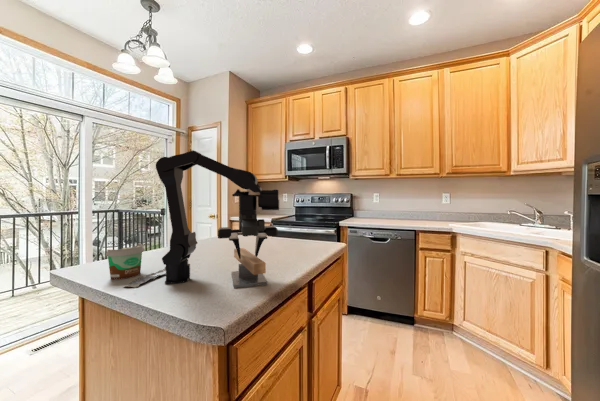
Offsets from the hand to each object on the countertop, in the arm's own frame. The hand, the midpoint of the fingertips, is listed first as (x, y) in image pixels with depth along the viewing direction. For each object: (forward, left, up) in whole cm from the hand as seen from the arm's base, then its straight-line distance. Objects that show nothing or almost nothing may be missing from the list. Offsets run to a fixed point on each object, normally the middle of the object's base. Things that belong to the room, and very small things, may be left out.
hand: (248, 258), depth 85 cm
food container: (-38, +16, -7) cm, 42 cm away
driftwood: (-30, +12, -8) cm, 33 cm away
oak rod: (0, 0, -2) cm, 2 cm away
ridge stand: (0, 0, -7) cm, 7 cm away
